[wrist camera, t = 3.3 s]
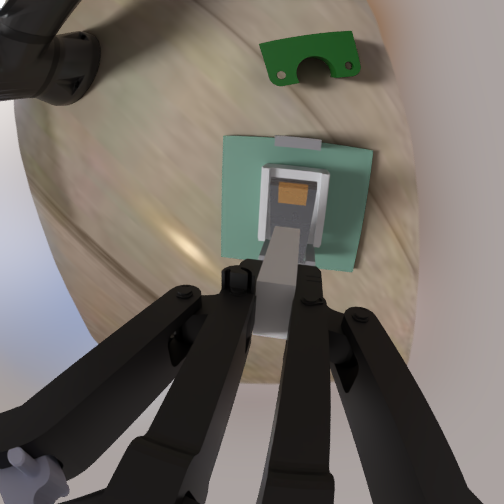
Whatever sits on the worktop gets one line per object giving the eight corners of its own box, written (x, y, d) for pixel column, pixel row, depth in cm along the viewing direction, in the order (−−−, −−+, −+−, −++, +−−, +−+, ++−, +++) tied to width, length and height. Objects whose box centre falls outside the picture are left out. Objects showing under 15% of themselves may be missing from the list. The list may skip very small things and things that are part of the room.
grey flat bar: (271, 172, 23) (268, 185, 22) (317, 177, 22) (317, 191, 21) (271, 252, 34) (270, 263, 34) (303, 256, 34) (302, 267, 33)
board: (225, 132, 35) (207, 133, 28) (371, 147, 32) (387, 150, 26) (223, 253, 43) (208, 277, 36) (351, 268, 40) (359, 295, 33)
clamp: (287, 82, 34) (259, 90, 29) (277, 46, 31) (246, 47, 25) (367, 73, 28) (357, 77, 22) (357, 34, 25) (344, 27, 19)
